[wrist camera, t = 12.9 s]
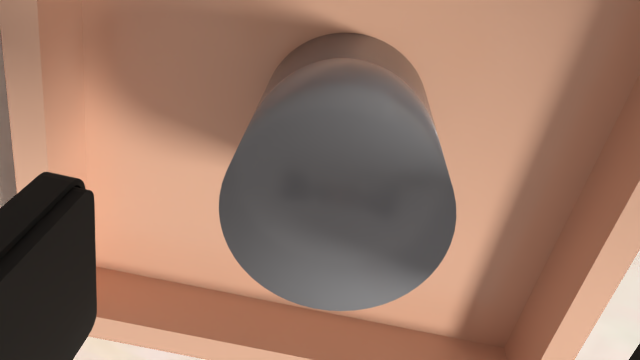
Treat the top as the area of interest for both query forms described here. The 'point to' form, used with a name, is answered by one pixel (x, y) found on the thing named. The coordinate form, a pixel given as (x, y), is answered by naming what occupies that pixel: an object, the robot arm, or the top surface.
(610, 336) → the top surface
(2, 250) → the robot arm
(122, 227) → the terracotta dish
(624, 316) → the top surface
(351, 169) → the gray metal cylinder
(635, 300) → the top surface
